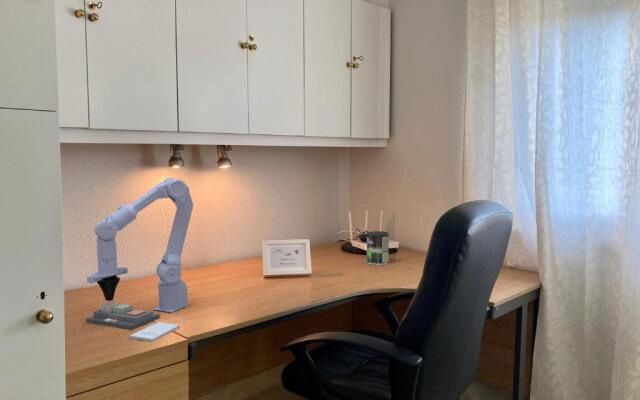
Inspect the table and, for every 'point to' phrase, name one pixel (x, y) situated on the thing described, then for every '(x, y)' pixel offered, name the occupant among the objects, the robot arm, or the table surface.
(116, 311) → the key
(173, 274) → the robot arm
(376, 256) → the coffee can
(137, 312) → the key
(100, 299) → the table surface
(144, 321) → the grey compartment tray
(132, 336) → the external hard drive
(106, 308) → the key
